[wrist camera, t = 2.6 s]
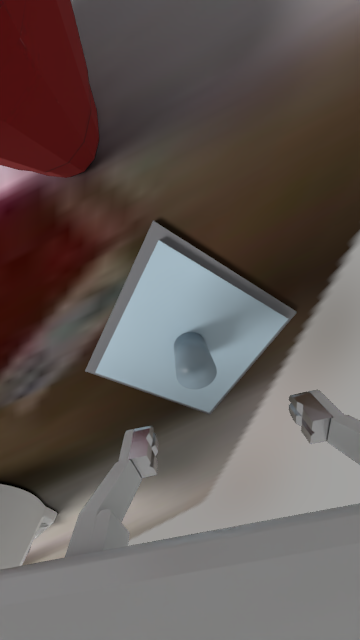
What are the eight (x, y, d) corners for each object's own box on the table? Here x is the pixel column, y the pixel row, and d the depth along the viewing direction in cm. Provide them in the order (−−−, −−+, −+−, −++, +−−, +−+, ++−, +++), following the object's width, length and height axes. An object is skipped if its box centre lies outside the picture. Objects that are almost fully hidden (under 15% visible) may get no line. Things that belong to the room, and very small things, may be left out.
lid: (207, 407, 22) (218, 447, 18) (97, 367, 18) (77, 406, 14) (283, 315, 18) (322, 339, 13) (159, 240, 14) (156, 239, 10)
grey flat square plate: (208, 410, 23) (210, 414, 23) (87, 367, 19) (84, 371, 19) (293, 309, 18) (297, 312, 18) (153, 221, 14) (153, 220, 14)
